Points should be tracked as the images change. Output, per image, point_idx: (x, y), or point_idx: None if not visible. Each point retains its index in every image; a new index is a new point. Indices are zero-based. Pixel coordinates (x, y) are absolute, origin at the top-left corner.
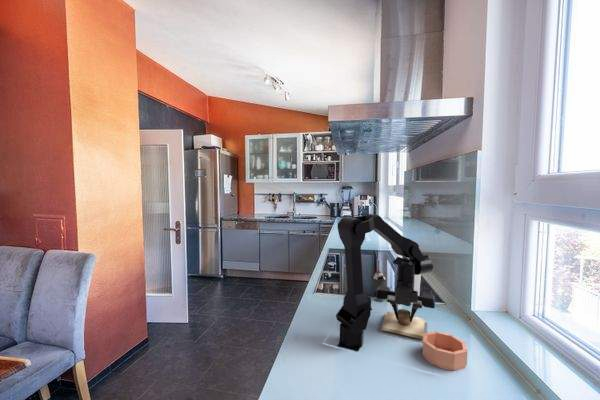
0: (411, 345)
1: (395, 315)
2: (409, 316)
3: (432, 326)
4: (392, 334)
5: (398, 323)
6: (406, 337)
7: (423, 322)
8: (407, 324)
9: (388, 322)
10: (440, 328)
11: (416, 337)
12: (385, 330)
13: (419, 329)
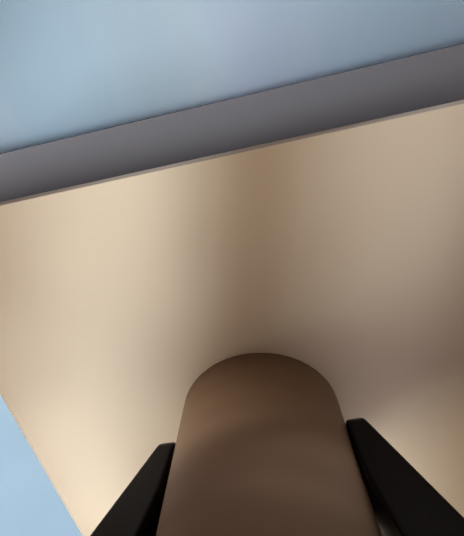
0: (36, 27)
1: (408, 463)
2: (158, 525)
3: (67, 523)
4: (332, 118)
5: (317, 365)
6: (150, 166)
7: (86, 525)
8: (196, 389)
9: (459, 313)
10: (8, 525)
11: (18, 198)
12: (458, 101)
13: (40, 369)
